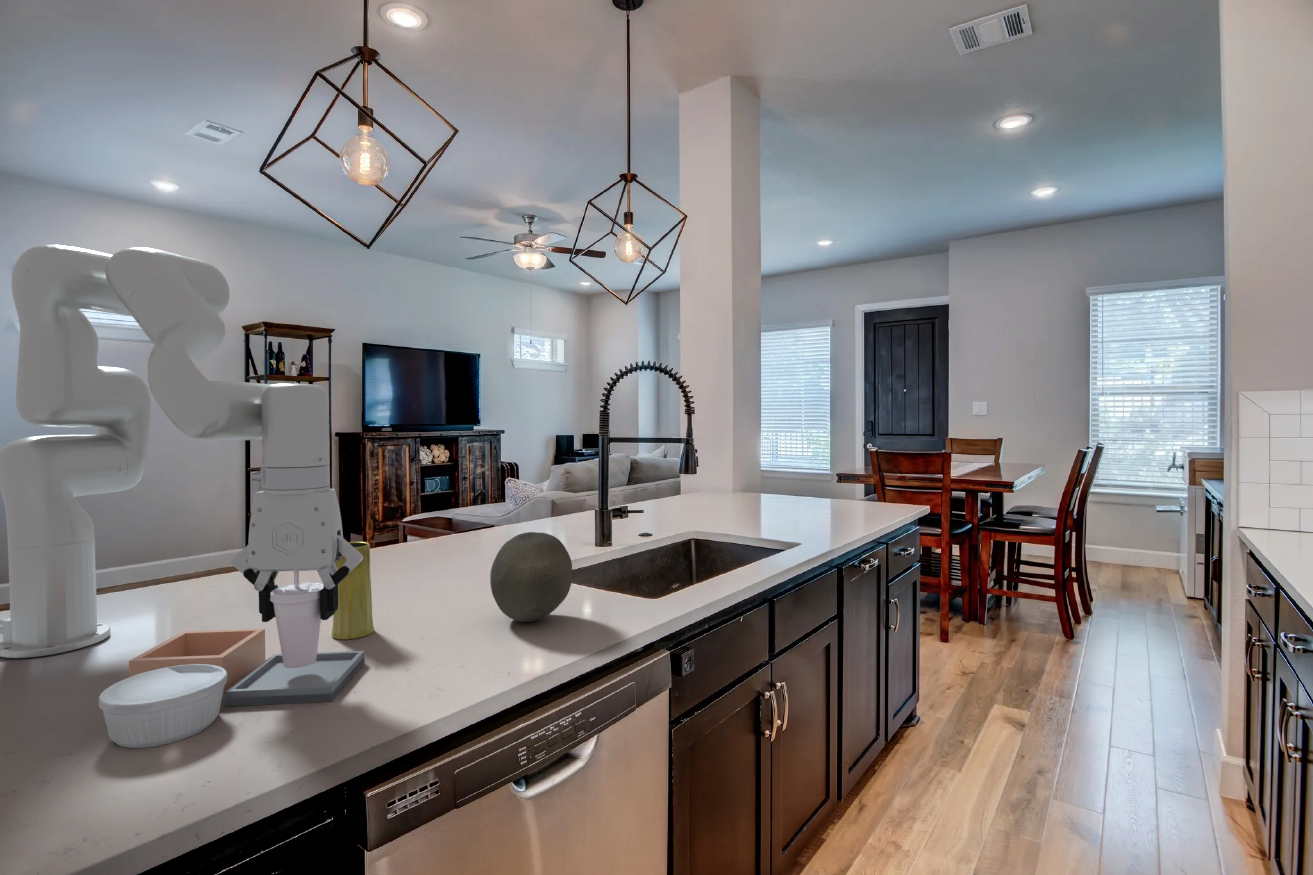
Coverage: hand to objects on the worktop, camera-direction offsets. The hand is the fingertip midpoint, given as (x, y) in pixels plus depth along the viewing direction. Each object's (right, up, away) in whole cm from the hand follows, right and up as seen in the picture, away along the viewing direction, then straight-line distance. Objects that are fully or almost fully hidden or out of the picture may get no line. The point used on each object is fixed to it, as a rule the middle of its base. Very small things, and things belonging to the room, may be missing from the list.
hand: (299, 616), depth 83 cm
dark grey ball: (+25, -8, +25) cm, 37 cm away
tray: (0, -9, 0) cm, 9 cm away
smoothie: (0, -6, 0) cm, 6 cm away
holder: (-13, -9, +1) cm, 16 cm away
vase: (-2, -8, +19) cm, 21 cm away
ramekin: (-8, -10, -11) cm, 17 cm away
